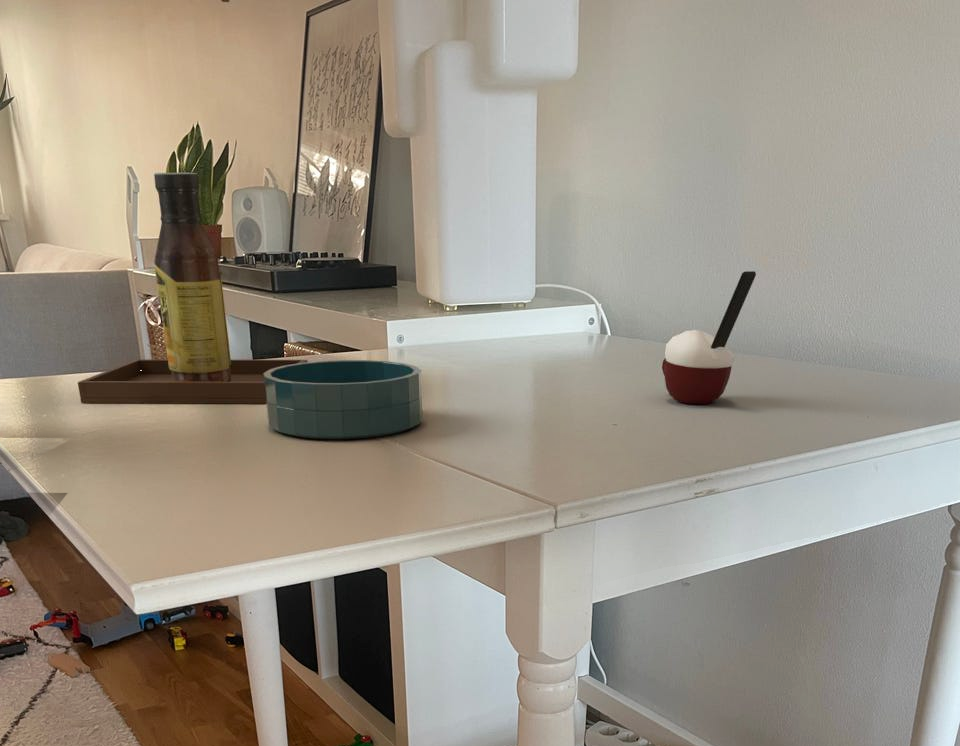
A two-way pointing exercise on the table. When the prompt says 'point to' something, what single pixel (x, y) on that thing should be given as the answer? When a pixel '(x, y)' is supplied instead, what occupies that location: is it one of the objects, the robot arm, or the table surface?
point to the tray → (177, 384)
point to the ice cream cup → (704, 355)
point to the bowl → (343, 398)
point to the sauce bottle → (189, 285)
